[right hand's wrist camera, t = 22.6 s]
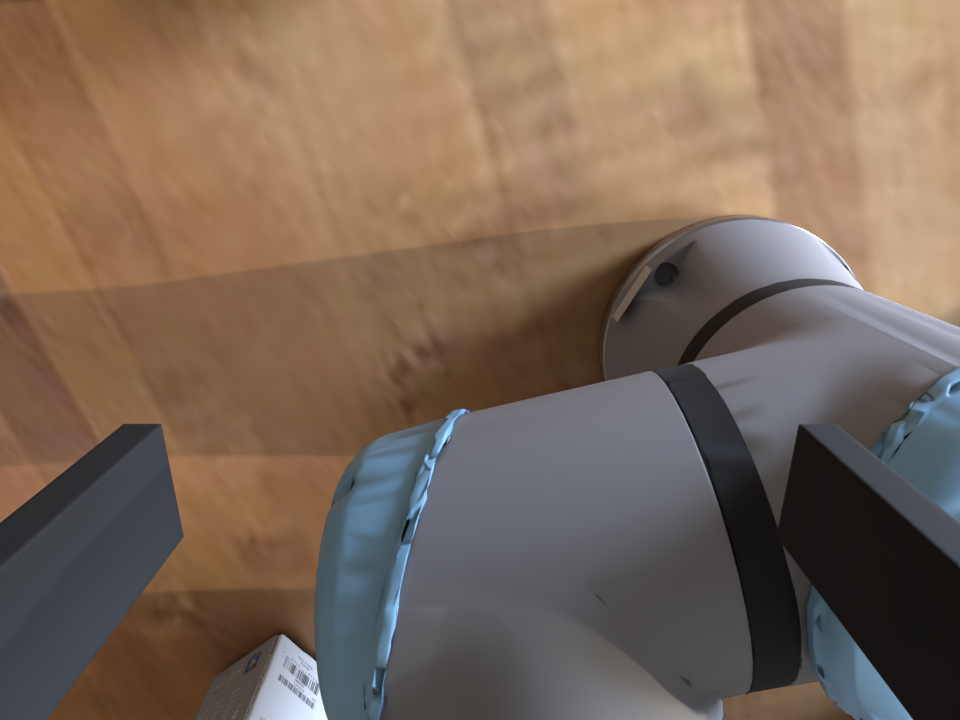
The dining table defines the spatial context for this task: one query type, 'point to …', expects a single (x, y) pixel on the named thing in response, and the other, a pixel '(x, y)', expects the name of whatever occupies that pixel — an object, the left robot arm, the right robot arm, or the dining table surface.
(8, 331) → the dining table surface
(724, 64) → the dining table surface
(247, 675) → the hard drive box
